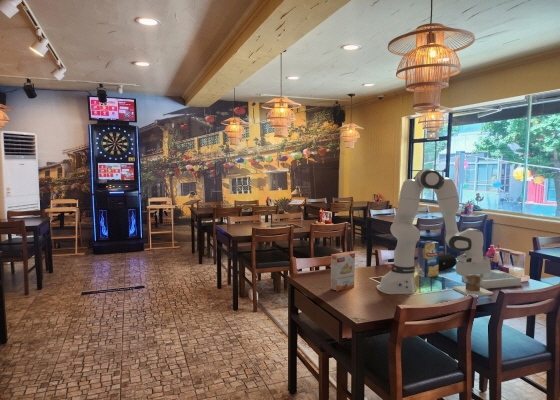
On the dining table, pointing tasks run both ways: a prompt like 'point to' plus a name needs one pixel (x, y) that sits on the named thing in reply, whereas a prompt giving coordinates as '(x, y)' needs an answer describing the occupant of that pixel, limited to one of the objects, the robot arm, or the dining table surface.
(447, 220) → the robot arm
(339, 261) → the cracker box
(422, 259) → the blue tall cardboard box
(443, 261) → the portable speaker
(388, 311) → the dining table surface
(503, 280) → the grey bin
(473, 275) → the walnut block
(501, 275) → the blue-grey block
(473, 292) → the cream tile
